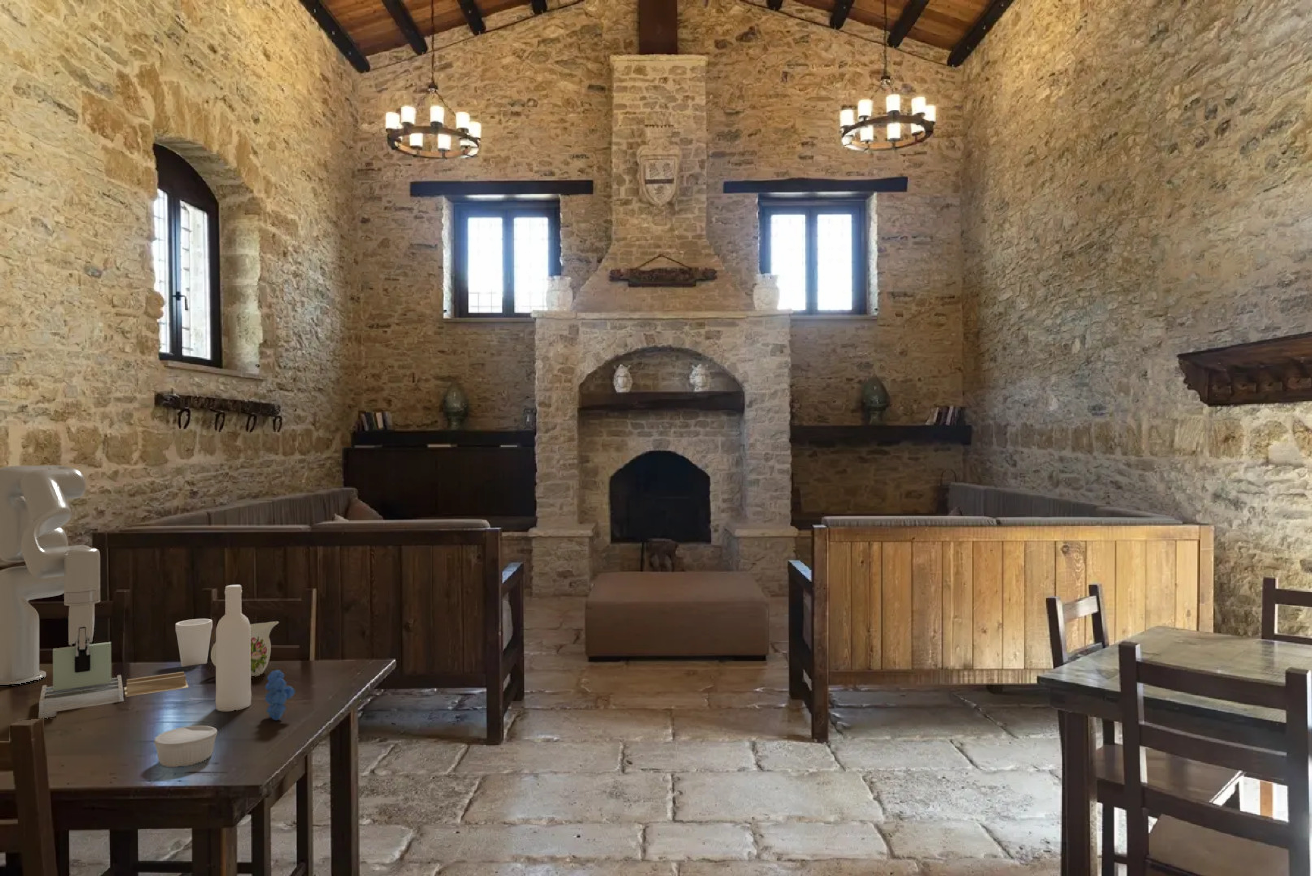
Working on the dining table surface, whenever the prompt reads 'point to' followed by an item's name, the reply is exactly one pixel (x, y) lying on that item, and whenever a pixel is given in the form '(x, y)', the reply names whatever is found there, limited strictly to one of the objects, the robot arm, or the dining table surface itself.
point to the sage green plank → (69, 679)
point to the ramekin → (185, 745)
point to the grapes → (277, 694)
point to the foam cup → (193, 641)
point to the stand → (155, 684)
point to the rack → (79, 697)
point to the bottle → (233, 655)
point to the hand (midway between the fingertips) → (82, 669)
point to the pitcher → (256, 647)
